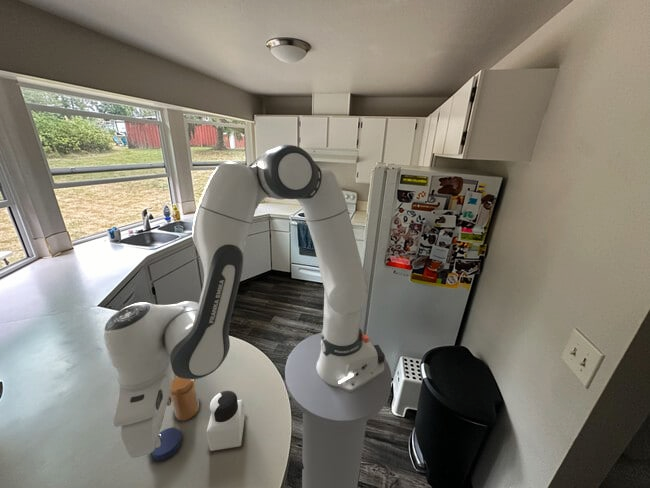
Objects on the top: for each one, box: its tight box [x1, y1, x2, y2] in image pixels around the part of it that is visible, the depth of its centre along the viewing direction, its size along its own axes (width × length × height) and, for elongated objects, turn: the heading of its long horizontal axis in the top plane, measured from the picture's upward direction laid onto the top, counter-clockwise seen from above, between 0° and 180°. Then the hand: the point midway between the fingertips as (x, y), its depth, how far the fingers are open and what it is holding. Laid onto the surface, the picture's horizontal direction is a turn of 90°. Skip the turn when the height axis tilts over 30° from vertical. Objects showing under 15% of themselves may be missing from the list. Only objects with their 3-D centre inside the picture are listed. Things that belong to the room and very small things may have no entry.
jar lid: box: [150, 427, 182, 461], centre depth 60 cm, size 6×6×2 cm
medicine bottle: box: [206, 390, 245, 452], centre depth 61 cm, size 7×7×12 cm
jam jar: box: [171, 376, 200, 421], centre depth 66 cm, size 6×6×11 cm
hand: (162, 422), depth 56 cm, fingers open, 8 cm apart
